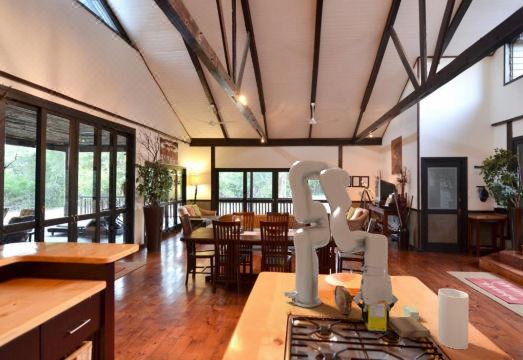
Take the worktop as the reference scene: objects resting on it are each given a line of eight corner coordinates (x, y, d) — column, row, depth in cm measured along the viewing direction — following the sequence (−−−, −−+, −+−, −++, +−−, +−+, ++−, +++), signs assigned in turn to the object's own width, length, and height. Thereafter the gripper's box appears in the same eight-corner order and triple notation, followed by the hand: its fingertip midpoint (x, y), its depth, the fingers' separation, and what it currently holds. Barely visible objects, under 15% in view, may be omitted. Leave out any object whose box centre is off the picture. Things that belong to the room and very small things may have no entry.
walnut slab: (400, 337, 100) (400, 331, 100) (386, 322, 110) (386, 317, 110) (429, 336, 101) (429, 330, 101) (412, 322, 111) (412, 316, 111)
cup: (434, 334, 102) (435, 287, 102) (462, 338, 100) (463, 289, 100) (441, 347, 94) (442, 295, 94) (472, 351, 92) (472, 299, 92)
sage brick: (418, 320, 113) (418, 312, 113) (410, 320, 113) (410, 312, 113) (410, 313, 119) (410, 305, 119) (402, 313, 119) (402, 305, 119)
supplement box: (381, 325, 108) (381, 294, 108) (386, 333, 102) (387, 301, 102) (364, 324, 109) (364, 293, 109) (368, 332, 103) (368, 300, 103)
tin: (333, 302, 129) (334, 282, 129) (341, 302, 129) (341, 282, 129) (344, 318, 114) (345, 295, 114) (353, 318, 114) (353, 295, 114)
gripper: (355, 273, 101) (355, 327, 101) (405, 273, 103) (405, 326, 103) (347, 267, 109) (347, 317, 109) (394, 266, 110) (393, 316, 110)
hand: (375, 320), depth 106 cm, fingers closed on supplement box, 6 cm apart
